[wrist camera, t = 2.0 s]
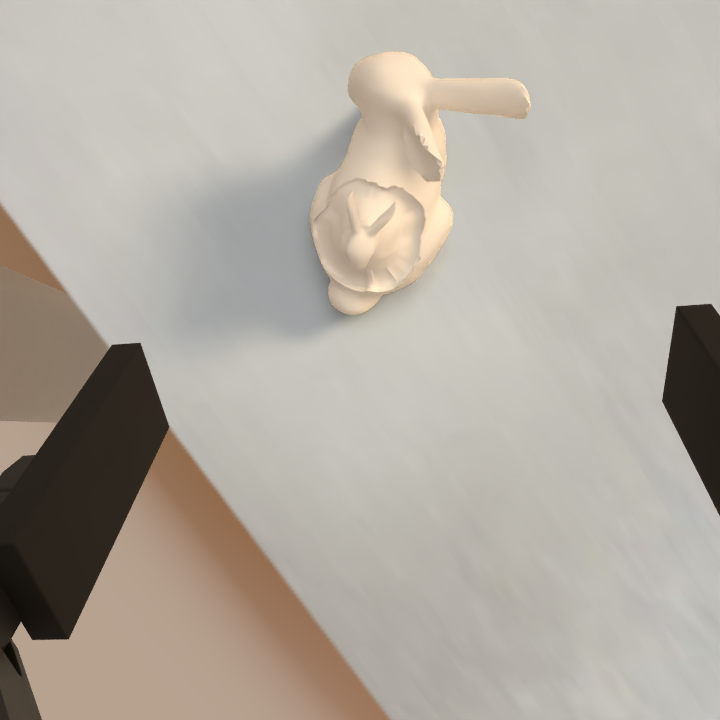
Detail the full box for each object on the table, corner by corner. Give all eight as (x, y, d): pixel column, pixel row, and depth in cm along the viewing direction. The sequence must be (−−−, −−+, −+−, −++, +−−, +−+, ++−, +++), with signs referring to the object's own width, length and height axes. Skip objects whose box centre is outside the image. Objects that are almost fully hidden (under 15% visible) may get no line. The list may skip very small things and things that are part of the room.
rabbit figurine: (372, 75, 34) (364, -66, 24) (518, 119, 33) (569, -8, 24) (291, 301, 33) (250, 247, 23) (441, 351, 32) (461, 316, 23)
